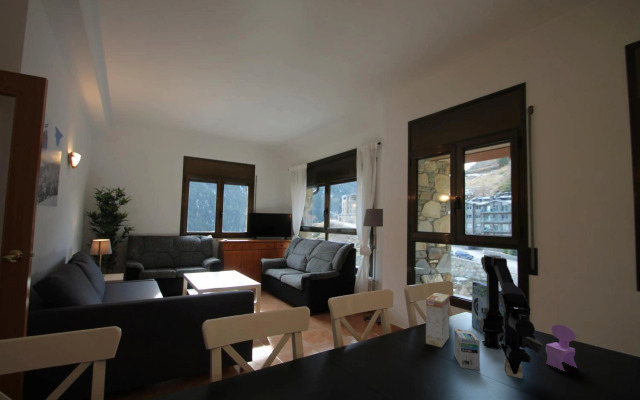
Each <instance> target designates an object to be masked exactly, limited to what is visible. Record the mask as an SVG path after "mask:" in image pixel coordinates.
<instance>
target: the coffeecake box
mask: <svg viewBox="0 0 640 400" xmlns="http://www.w3.org/2000/svg"><path fill="white" fill-rule="evenodd" d="M425 304H426V307H425V310H426V311H425V314H426V315H425V317H426V318H425V344H426V345H430V346H434V347H438V348H443V346H444V345H445V343H447V340H449V338H450V294H444V293H440V292H434V293H432V294H431V295H429V297H427V298H426V299H425Z"/></svg>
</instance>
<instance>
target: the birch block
mask: <svg viewBox="0 0 640 400" xmlns="http://www.w3.org/2000/svg"><path fill="white" fill-rule="evenodd" d="M504 371H505V373H506V376H508V377H515V378H518V379H523V366H522V364H520V366H519V369H518V372H517V374H513V372H512V370H511V367H510V364H509V362H508V359H506V358H504Z"/></svg>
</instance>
